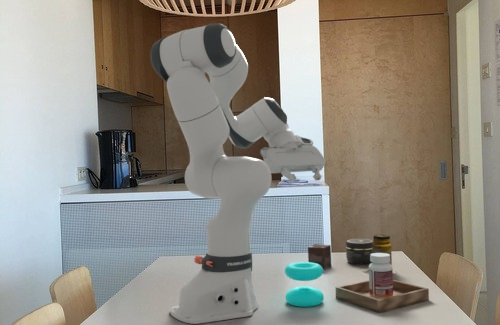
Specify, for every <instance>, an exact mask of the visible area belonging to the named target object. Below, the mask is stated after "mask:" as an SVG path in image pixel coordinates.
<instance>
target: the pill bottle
mask: <svg viewBox="0 0 500 325" xmlns="http://www.w3.org/2000/svg"><path fill="white" fill-rule="evenodd" d="M370 261H371V262H372V263H371V264H368V270H369V274H368V280H369V293H370V297H373V298H376V299H383V298H387V297H391V296H393V280H394V278H393V277H394V276H393V275H394V274H393V272H394V271H393V265H391V264H389V262H390V254H387V253H372V254H370Z"/></svg>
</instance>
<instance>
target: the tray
mask: <svg viewBox="0 0 500 325" xmlns="http://www.w3.org/2000/svg"><path fill="white" fill-rule="evenodd" d="M429 294H430V291H429V288H427V287H423V286H419V285H415V284H411V283H407V282H403V281H400V280H395V279H393V296H391V297H387V298H383V299H376V298H373V297H370V293H369V279H368V280H364V281H359V282H355V283H350V284H345V285H340V286H336V287H335V299H337V300H340V301H343V302H346V303H349V304H352V305H355V306H358V307H361V308H364V309H366V310H370V311H373V312H376V313H379V314H380V313H381V314H382V313H385V312H388V311H392V310H397V309H401V308H403V307H408V306H411V305H416V304H419V303H423V302H426V301H427V302H429V300H430V296H429Z"/></svg>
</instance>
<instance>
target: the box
mask: <svg viewBox="0 0 500 325" xmlns="http://www.w3.org/2000/svg"><path fill="white" fill-rule="evenodd" d="M331 248H332V246H331V244H320V243H319V244H318V243H315V244H312V245H310V246H308V247H307V258H308V260H307V262H312V263H317V264H319V265H321V267H322V268H323V270H326V269H328V268H331V266H332V251H331Z"/></svg>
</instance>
